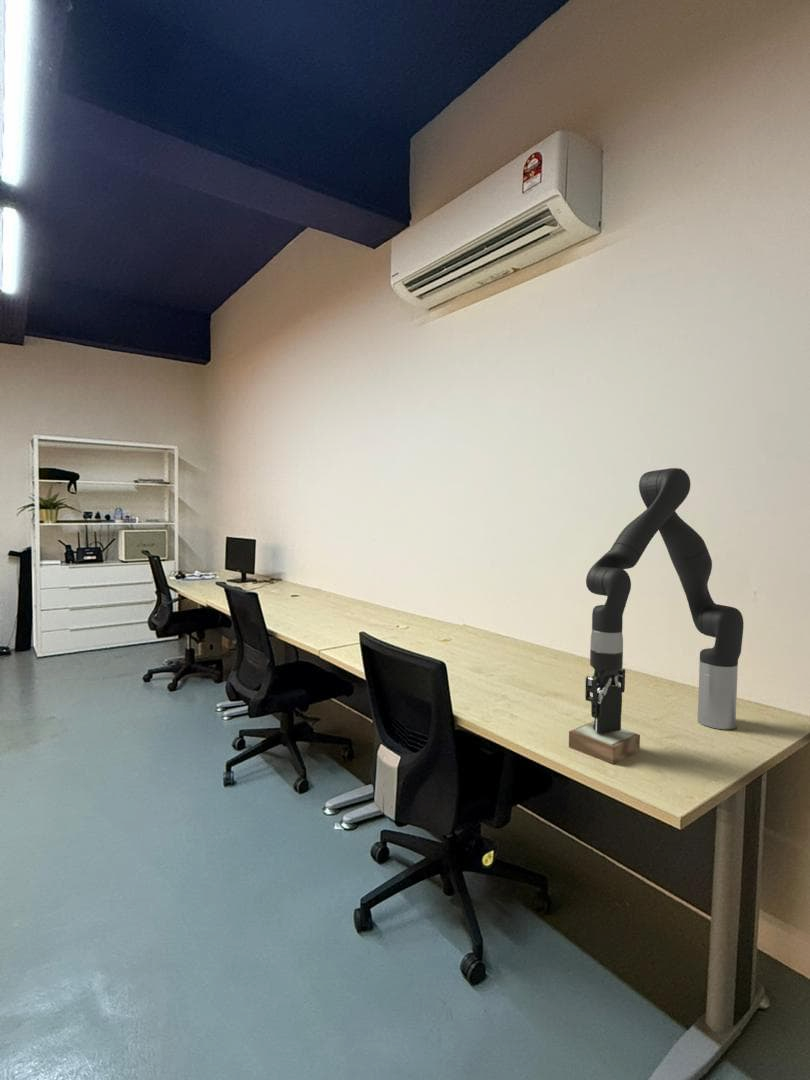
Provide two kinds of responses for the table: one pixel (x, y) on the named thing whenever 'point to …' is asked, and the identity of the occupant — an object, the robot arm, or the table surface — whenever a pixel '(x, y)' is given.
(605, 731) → the battery
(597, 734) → the base
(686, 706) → the table surface
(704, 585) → the robot arm
